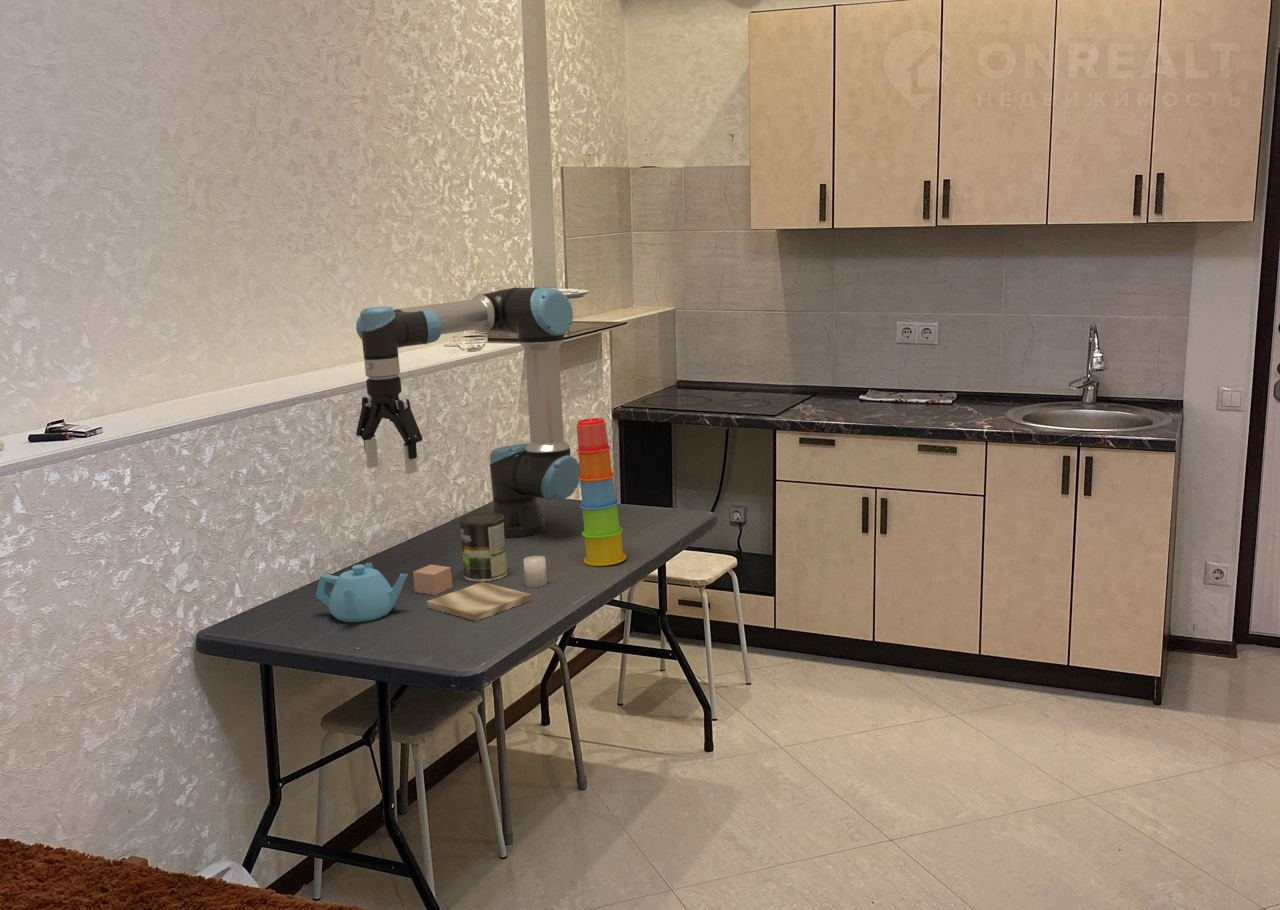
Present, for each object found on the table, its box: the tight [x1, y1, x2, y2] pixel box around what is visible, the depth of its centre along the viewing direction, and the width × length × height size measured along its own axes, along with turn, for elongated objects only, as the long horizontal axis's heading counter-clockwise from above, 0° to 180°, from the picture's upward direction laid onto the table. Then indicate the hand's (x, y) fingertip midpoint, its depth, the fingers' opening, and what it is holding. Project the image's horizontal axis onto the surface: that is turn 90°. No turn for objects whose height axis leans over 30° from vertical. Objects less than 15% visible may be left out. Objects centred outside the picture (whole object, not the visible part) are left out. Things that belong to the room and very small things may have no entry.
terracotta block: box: [412, 564, 453, 596], centre depth 266 cm, size 6×6×5 cm
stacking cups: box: [575, 417, 627, 567], centre depth 279 cm, size 10×10×35 cm
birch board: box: [426, 582, 532, 622], centre depth 255 cm, size 16×16×2 cm
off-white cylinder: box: [522, 555, 548, 588], centre depth 267 cm, size 5×5×6 cm
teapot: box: [315, 562, 408, 623], centre depth 252 cm, size 15×15×11 cm
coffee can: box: [459, 511, 508, 583], centre depth 274 cm, size 10×10×14 cm
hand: (392, 470), depth 265 cm, fingers open, 13 cm apart
